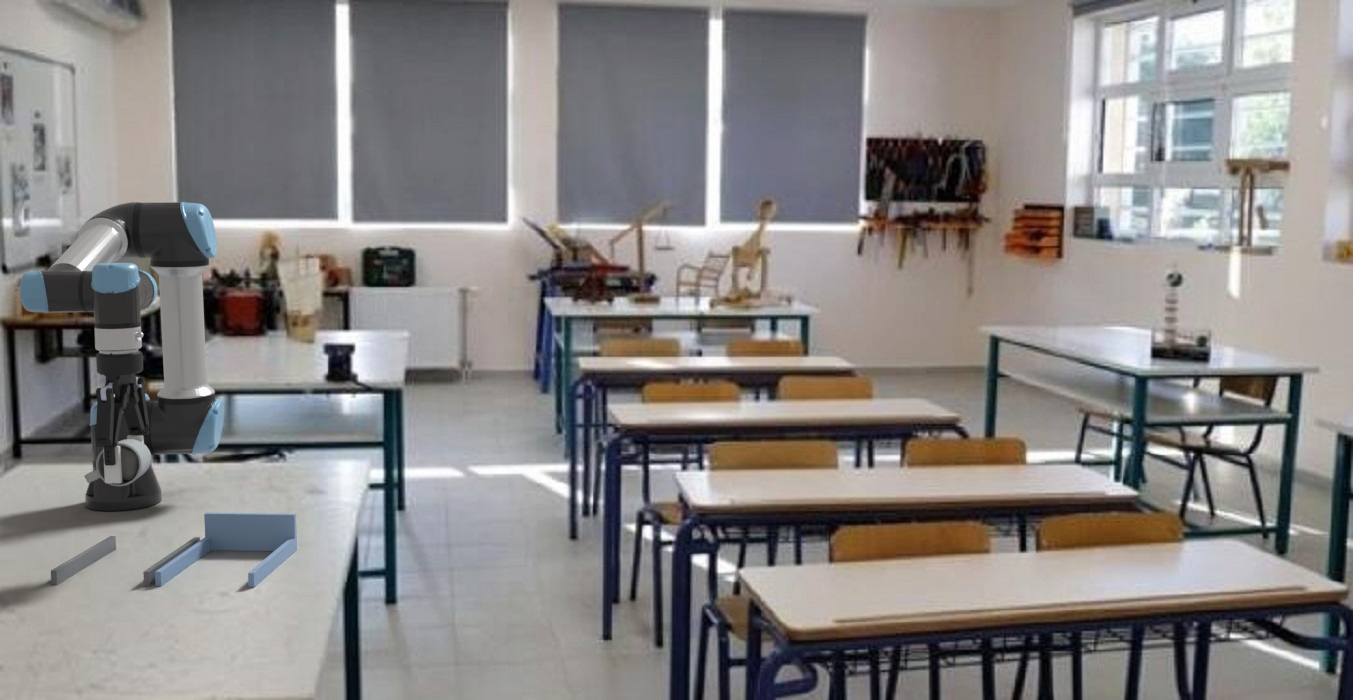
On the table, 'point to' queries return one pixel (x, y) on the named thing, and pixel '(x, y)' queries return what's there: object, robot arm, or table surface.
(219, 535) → the frame
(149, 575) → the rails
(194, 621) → the table surface
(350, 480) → the table surface
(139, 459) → the ceramic mug
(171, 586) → the table surface
